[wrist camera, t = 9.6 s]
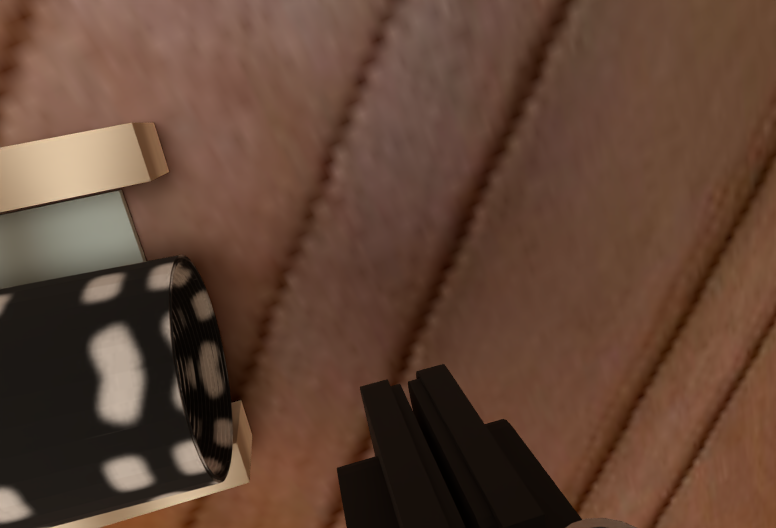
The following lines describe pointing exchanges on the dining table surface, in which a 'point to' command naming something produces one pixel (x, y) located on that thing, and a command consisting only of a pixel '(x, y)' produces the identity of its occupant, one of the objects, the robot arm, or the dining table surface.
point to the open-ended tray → (89, 239)
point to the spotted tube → (109, 392)
